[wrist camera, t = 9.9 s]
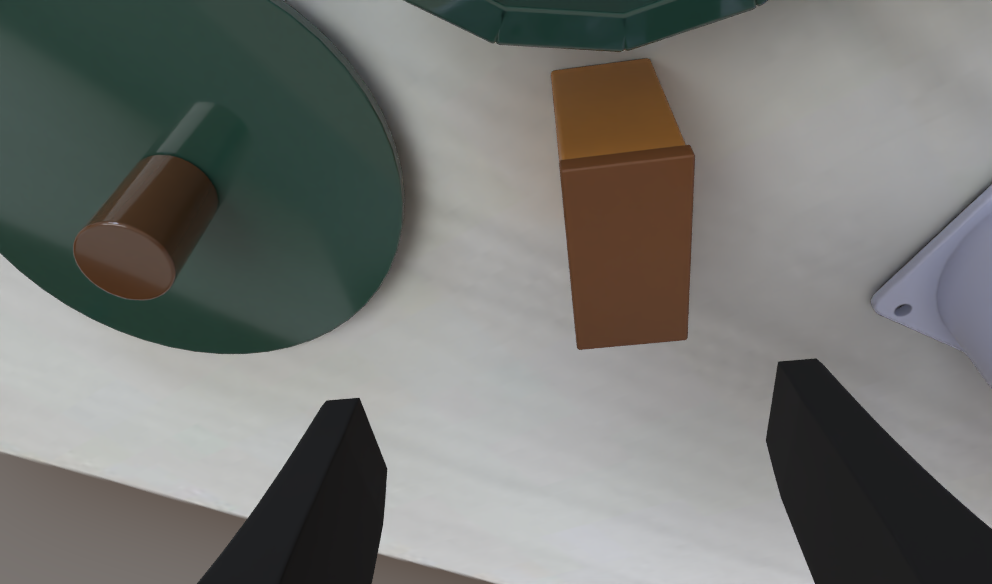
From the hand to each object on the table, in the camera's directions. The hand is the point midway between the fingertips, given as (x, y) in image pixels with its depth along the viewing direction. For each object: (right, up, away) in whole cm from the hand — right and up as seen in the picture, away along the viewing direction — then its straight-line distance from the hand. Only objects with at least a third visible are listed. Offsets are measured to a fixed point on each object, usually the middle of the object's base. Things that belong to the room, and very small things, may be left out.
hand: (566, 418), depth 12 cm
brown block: (+2, +6, +8) cm, 10 cm away
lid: (-10, +5, +8) cm, 14 cm away
